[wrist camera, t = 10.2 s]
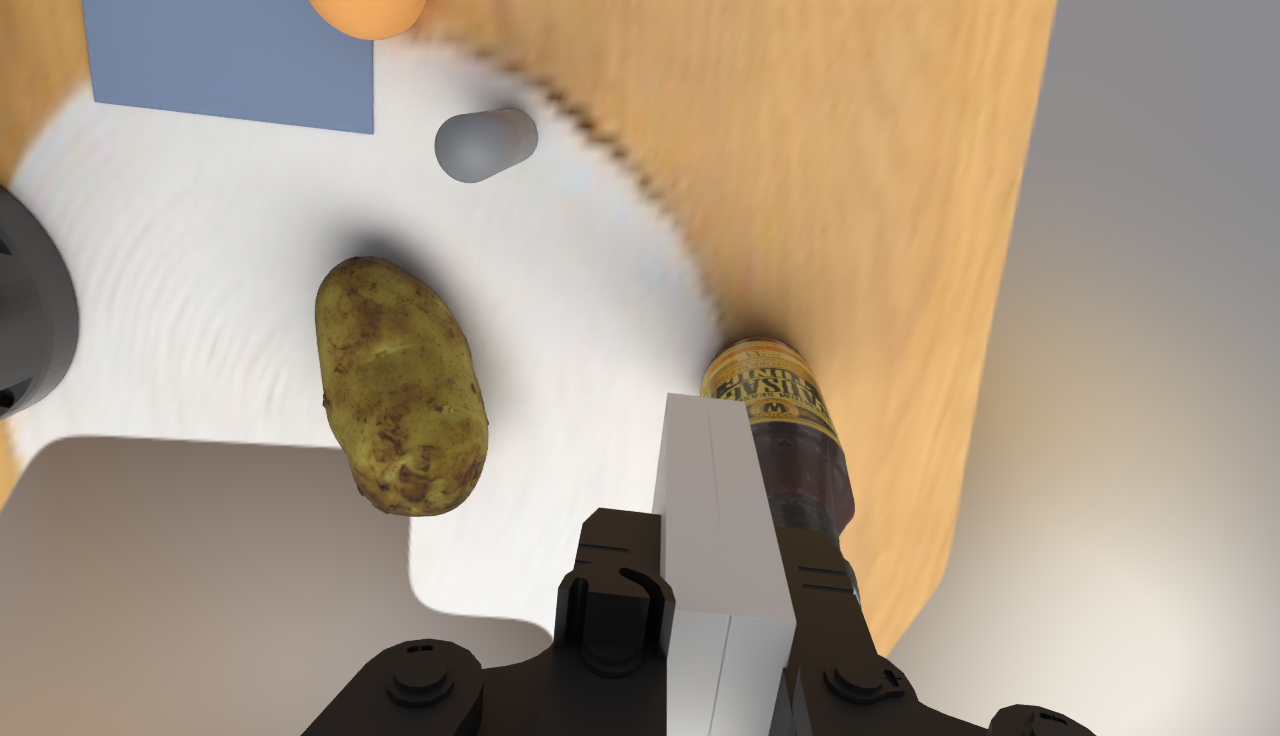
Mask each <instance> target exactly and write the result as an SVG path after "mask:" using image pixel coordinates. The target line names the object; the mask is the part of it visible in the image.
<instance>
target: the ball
mask: <svg viewBox="0 0 1280 736" xmlns="http://www.w3.org/2000/svg"><path fill="white" fill-rule="evenodd" d="M309 2H310V3H311V5H312V6H313V8H314V9H315V10H316V11H317V13H318V14H319V15H320V16H321V17H322V18H323V19H324V20H325V21H326V22H328V23H329V24H330V25H331V26H333V27H334V28H336V29H338V30H339V31H341V32H343V33H345V34H347V35H349V36H352V37H356V38H359V39H365V40H382V39H387V38H391V37H394V36H396V35H399V34H400V33H402V32H404V31H405V30H407V29H408V28H409V27H411V26H412V25H413V24H414V23H415V21H416V20H417V19H418V18H419V16H420V15H421V13H422V11H423V9H424V7H425V5H426V2H427V0H309Z"/></svg>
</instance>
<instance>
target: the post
mask: <svg viewBox="0 0 1280 736" xmlns="http://www.w3.org/2000/svg"><path fill="white" fill-rule="evenodd" d="M537 141H538V134H537V129H536V126H535V124H534V122H533V121H532V119H531V118H530V117H529V116H528V115H527V114H525V113H524V112H522V111H520V110H517V109H503V110H494V111H486V112H478V113H470V114H462V115H457V116H454V117H451V118H450V119H448V120H447V121H445V122H444V123H443V124H442V126H441V127H440V128H439V130H438V132H437V135H436V138H435V154H436V157H437V160H438V162H439V164H440V166H441V167H442V169H443V170H444V171H445V172H446V173H447V174H448V175H449V176H450V177H452V178H454V179H455V180H458V181H460V182H465V183H476V182H480V181H482V180H485V179H487V178H489V177H491V176H493V175H495V174H497V173H499V172H501V171H503V170H505V169H507V168H509V167H511V166H513V165H515V164H517V163H520V162H522V161H524V160H525V159H527V158H528V157H530V156H531V155H532V153H533V152H534V150H535V148H536V146H537Z"/></svg>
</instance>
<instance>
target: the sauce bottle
mask: <svg viewBox="0 0 1280 736" xmlns="http://www.w3.org/2000/svg"><path fill="white" fill-rule="evenodd" d="M700 397H707V398H716V399H724V400H733V401H742V402H745V406H746V410H747V414H748V418H749V423H750V427H751V431H752V435H753V440H754V444H755V448H756V452H757V457H758V461H759V465H760V469H761V474H762V478H763V482H764V486H765V491H766V495H767V499H768V503H769V508H770V512H771V516H772V520H773V525H774V526H782V527H790V528H799V529H807V530H816V531H821V532H822V533H823V534H824V535H825V536H826V537H827V538H828V539H829V541H830V542H831V543H832V544H833V545H834V546H835V547H836V548H837V549H838V550H839V551H840V545H839V536H840V534H841V533H842V531H843V530H844V528H845V527H846V525H847V524H848V523H849V522H850V521H851V519H852V518H853V516H854V512H855V503H854V498H853V493H852V489H851V485H850V480H849V476H848V471H847V466H846V460H845V454H844V452H843V449H842V446H841V444H840V441H839V438H838V435H837V433H836V430H835V427H834V425H833V422H832V419H831V417H830V414H829V412H828V409H827V407H826V404H825V401H824V399H823V396H822V393H821V390H820V388H819V385H818V382H817V380H816V377H815V375H814V373H813V371H812V369H811V368H810V366H809V364H808V363H807V362H806V360H805V359H804V358H803V357H801V355H800V353H799V352H798V351H797V350H795V349H794V348H792V347H790V346H789V345H787V344H785V343H782V342H780V341H778V340H775V339H773V338H769V337H765V338H763V337H759V336H755V337H750V338H746V339H743V340H740V341H738V342H735V343H732V344H731V345H730V346H728V347H725V348H724V349H722V350H720V351H719V352H718V354H717V355H716V357H715V358H714V360H713V361H712V363H711V364H710V366H709V367H708V369H707V371H706V373H705V375H704V378H703V381H702V385H701V392H700ZM840 553H841V551H840ZM841 556H842V558H843V561H844V564H845V567H846V569H847V572H848V573H847V576H849V578H850V580H851V583H852V586H853V588H854V594H856V597H857V599H858V602H859V605H860V608H861V603H860V595H859V589H858V586H857V580H856V576H855V573H854V571H853V569H852V567H851V565H850V564H849V562H848V561H847V560H846V559H844V557H843V555H842V553H841Z"/></svg>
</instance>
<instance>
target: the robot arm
mask: <svg viewBox="0 0 1280 736" xmlns="http://www.w3.org/2000/svg"><path fill="white" fill-rule="evenodd" d="M77 336H78V314H77V305H76V300H75V295H74V291H73V287H72V284H71V281H70V278H69V276H68V273H67V271H66V268H65V266H64V264H63V262H62V260H61V258H60V256H59V254H58V252H57V250H56V249H55V247H54V245H53V244H52V242H51V241H50V239H49V237H48V236H47V235H46V233H45V232H44V230H43V229H42V228H41V226H40V225H39V224H38V223H37V222H36V220H35V219H34V218H33V217H32V216H31V215H30V214H29V213H28V211H27V210H26V209H25V208H24V207H23V206H22V205H21V204H20V203H19V202H18V201H16V200H15V199H14V198H13V197H12V196H11V195H10V194H8V193H7V192H6V191H5V190H3V189H2V188H1V187H0V421H1V420H4V419H6V418H8V417H10V416H12V415H14V414H16V413H18V412H20V411H22V410H24V409H26V408H28V407H30V406H32V405H34V404H36V403H37V402H39V401H40V400H42V399H43V398H44V397H46V396H47V395H48V394H49V393H50V392H51V391H52V390H54V389H55V387H56V386H57V385H58V384H59V383H60V381H61V380H62V378H63V377H64V375H65V374H66V372H67V370H68V368H69V366H70V364H71V361H72V359H73V355H74V352H75V348H76V343H77ZM847 573H848V572H847V569H846V567H845V564H844V561H843V558H842V556H841V553H840V551H839V550H838V549H837V548H836V547H835V546H834V545H833V544H832V543H831V542H830V541H829V539H828V538H827V537H826V536H825V535H824V534H823V533H822V532H821V531H816V530H807V529H799V528H790V527H782V526H774V525H773V520H772V516H771V512H770V508H769V503H768V499H767V495H766V491H765V486H764V482H763V478H762V474H761V469H760V465H759V461H758V457H757V452H756V448H755V444H754V440H753V435H752V431H751V427H750V423H749V418H748V414H747V410H746V406H745V402H742V401H733V400H724V399H716V398H707V397H699V396H690V395H682V394H673V393H668V394H667V401H666V409H665V416H664V424H663V431H662V439H661V447H660V454H659V462H658V469H657V477H656V484H655V492H654V500H653V507H652V514H650V513H641V512H633V511H624V510H616V509H607V508H598V509H597V510H596V511H595V512H594V513H593V514H592V515H591V516H590V517H589V518H588V519H587V520H586V521H585V522H584V523H583V525H582V529H581V534H580V539H579V545H578V549H577V554H576V559H575V564H574V569H573V570H572V571H571V572H569V573H568V574H566V575H565V577H564V579H563V580H562V582H561V584H560V586H559V587H558V596H557V607H556V619H555V630H554V641H553V643H552V645H551V646H550V647H549V648H548V649H546V650H545V651H543V652H542V653H541V654H539V655H538V656H536V657H534V658H531V659H529V660H526V661H524V662H521V663H517V664H512V665H508V666H502V667H495V668H487V669H482V668H481V664H480V663H479V661H478V660H477V659H476V658H475V657H474V655H473V654H472V653H471V652H470V651H469V650H467V649H465V648H463V647H461V646H459V645H457V644H455V643H453V642H449V641H442V640H436V639H422V640H413V641H406V642H403V643H400V644H398V645H395V646H393V647H390V648H387V649H385V650H383V651H382V652H380V653H379V654H378V655H377V656H375V657H374V658H373V659H371V660H370V661H369V662H368V663H366V664H365V665H364V666H363V668H362V669H361V670H360V671H359V672H358V673H357V674H356V675H355V676H354V677H353V679H352V680H351V681H350V682H349V683H348V684H347V685H346V686H345V687H344V689H343V690H342V691H341V692H340V693H339V694H338V695H337V696H336V697H335V698H334V699H333V701H332V702H331V703H330V704H329V705H328V706H327V707H326V708H325V709H324V710H323V712H322V713H321V714H320V715H319V716H318V717H317V718H316V719H315V720H314V722H313V723H312V724H311V725H310V726H309V727H308V728H307V729H306V731H304V732H303V734H302V735H301V736H1096V735H1095V734H1094V733H1092V732H1091V731H1090V730H1089V729H1088V728H1086V727H1084V726H1083V725H1081V724H1079V723H1077V722H1076V721H1074V720H1072V719H1070V718H1069V717H1067V716H1065V715H1063V714H1060V713H1058V712H1054V711H1052V710H1048V709H1045V708H1043V707H1040V706H1031V705H1020V704H1016V705H1012V706H1009V707H1005V708H1002V709H1000V710H999V711H998V712H997V713H996V715H995V716H994V717H993V718H992V720H991V722H990V725H989V728H988V729H986V728H983V727H980V726H977V725H974V724H971V723H969V722H966V721H963V720H960V719H957V718H954V717H951V716H949V715H946V714H943V713H941V712H939V711H937V710H934V709H932V708H929V707H927V706H926V705H924V704H922V703H921V702H919V701H918V698H917V696H916V693H915V691H914V689H913V687H912V685H911V684H910V682H909V681H908V680H907V678H906V676H905V675H904V673H903V672H902V671H901V670H899V669H898V668H897V667H896V666H895V665H893V664H892V663H891V662H890V661H889V660H887V659H886V658H884V657H882V656H880V655H878V654H877V651H876V649H875V646H874V643H873V640H872V638H871V635H870V632H869V630H868V627H867V624H866V621H865V619H864V616H863V613H862V610H861V608H860V605H859V602H858V599H857V597H856V594H854V588H853V586H852V583H851V580H850V578H849V576H847Z"/></svg>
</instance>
